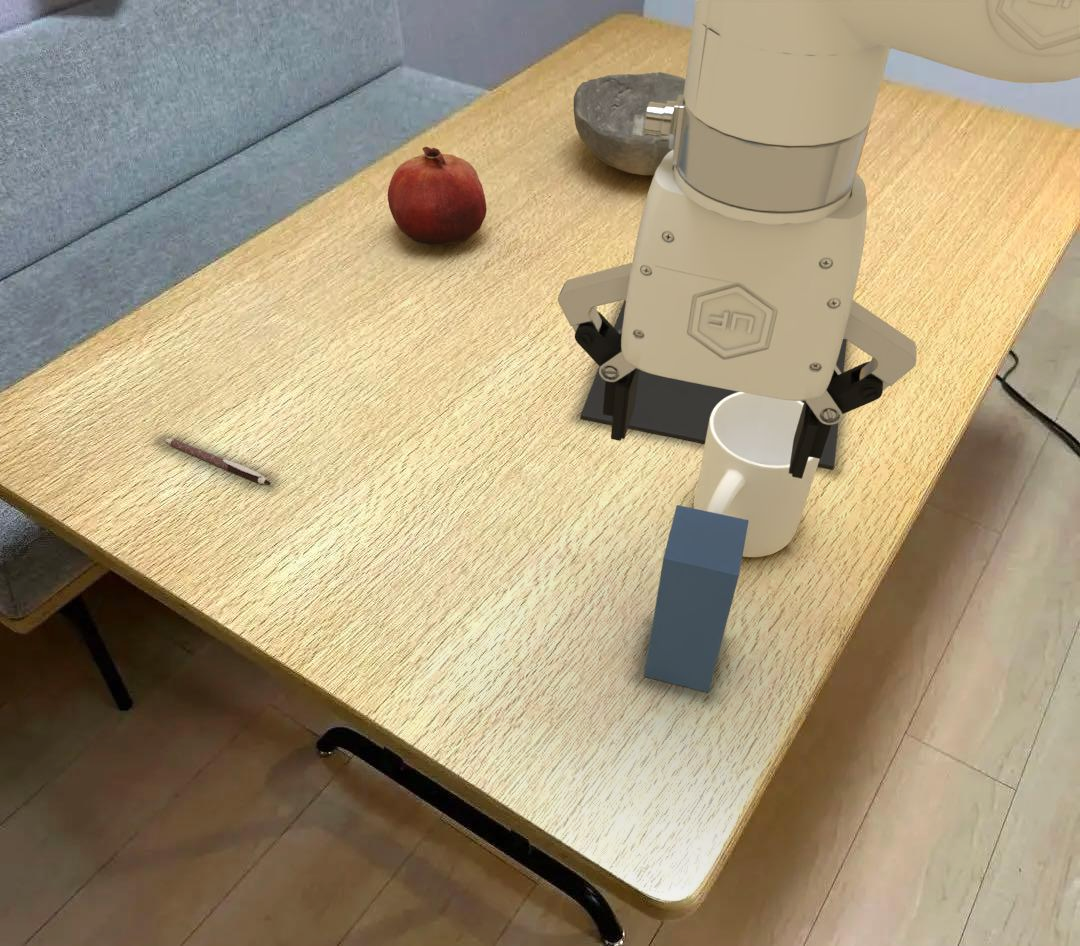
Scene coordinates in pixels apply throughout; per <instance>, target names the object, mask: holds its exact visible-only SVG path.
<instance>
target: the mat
mask: <svg viewBox="0 0 1080 946" xmlns="http://www.w3.org/2000/svg"><path fill="white" fill-rule="evenodd" d="M625 305H626V299H624V300H623V303H622V306H621V308H620V311H619V313H618V316H617V319H616V321H615V324H614V326H613V327H614V328H615V329H616V330H617V332H618V331H619V330H620V329H622V327H623V320H624V311H625ZM847 342H848V340H846V339H845V338H843V341H842V345H841V349H840V352H839V356H838V360H837V363H836V366H837V367H838V369H839V370H840V372H841V373H843V372H845V371H844V370H845V363H846V362H845V361H846V353H847V352H846V351H847ZM599 368H600V366H599V365H598V369H597V371H596V374H595V376H594V379H593V381H592V384H591V387H590V389H589V392H588V395H587V397H586V399H585V402H584V404H583V408H582V410H581V413H580V417H579V418H580V419H581V420H586V421H591V422H596V423H602V424H606V425H610V426H612V421H613V417H612V416H607V415H603V405H604V394H605V382H606V380H604V379H603V378H602V377H601V376H600V374H599ZM737 392H738V391H733V390H728V389H723V388H718V387H713V386H707V385H702V384H697V383H692V382H687V381H682V380H677V379H672V378H667V377H662V376H658V375H654V374H650V373H647V372H644V371H642V370H639V377H638V386H637V394H636V402H635V408H634V411H633V414H632V417H631V421H630V424H629V427H628V429H630V430H635V431H640V432H644V433H645V432H646V433H650V434H655V435H660V436H665V437H670V438H675V439H680V440H685V441H690V442H695V443H699V444H705V441H706V435H707V430H708V425H709V420H710V416H711V413H712V411H713V409H714V408H715V406H716V405H717V404H718V403H719V402H720V401H721V400H723V399H724V398H726V397H728V396H730V395H732V394H735V393H737ZM801 402H803V403H804V401H801ZM838 431H839V423H837V424H834V425H831V429H830V432H829V435H828V438H827V441H826V444H825V447H824V450H823V453H822V456H821V459H820V460H819V463H818V466H817V467H819V468H824V469H829V470H834V469H835V462H836V452H837V442H838Z"/></svg>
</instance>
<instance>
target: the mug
mask: <svg viewBox="0 0 1080 946" xmlns="http://www.w3.org/2000/svg"><path fill="white" fill-rule="evenodd" d="M803 405H804V403H803V402H801V401H790V400H782V399H776V398H770V397H765V396H759V395H754V394H749V393H744V392H737V393H735V394H732V395H730V396H728V397H726V398H724V399H723V400H721V401H720V402H719V403H718V404H717V405H716V406H715V408H714V409H713V411H712V413H711V416H710V420H709V425H708V430H707V435H706V441H705V443H704V446H703V452H702V457H701V463H700V468H699V472H698V478H697V482H696V483H697V484H696V489H695V494H694V499H693V500H694V501H693V508H694V509H699V510H703V511H708V512H713V513H717V514H722V515H727V516H731V517H736V518H741V519H745V520H748V521H749V522H748V528H747V534H746V539H745V545H744V550H743V556H742V558H743V557H744V558H761V557H767V556H771V555H773V554H775V553H776V554H777V552H779V551H781V550H782V549H784V548H785V547H787V546H788V545H789V543H791V541H792V540H793V538H794V537H795V535H796V534H797V531H798V528H799V525H800V524H801V523H800V522H801V520H802V516H803V513H804V510H805V506H806V503H807V501H808V498H809V495H810V491H811V489H812V484H813V482H814V478H815V476H816V472H817V469H818V467H819V466H818V463H819V460H820V459H818V458H813V457H809V458H808V461H807V464H806V467H805V470H804V474H803V477H802V479H800V478H796V477H792V474H789V467H790V460H791V454H792V447H793V440H794V436H795V432H796V429H797V425H798V422H799V419H800V415H801V412H802V408H803Z"/></svg>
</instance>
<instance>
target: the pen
mask: <svg viewBox="0 0 1080 946" xmlns="http://www.w3.org/2000/svg"><path fill="white" fill-rule="evenodd" d="M164 440H165V442H166V443H167V444H168V445H169V446H170V447H172V448H174V449H177V450H179V451H181V452H184V453H186V454H188V455H191V456H193V457H195V458H198V459H200V460H202V461H204V462H206V463H209V464H212V465H214V466H215V467H218V468H220V469H223V470H225V471H227V472H230V473H232V474H235V475H237V476H240V477H242V478H245V479H247V480H249V481H252V482H255V483H257V484H260V485H270V484H271V482H270V480H268V479H267V478H266V477H265V476H264V475H262V474H261V473H259V472H257V471H255V470H253V469H252V468H250V467H248V466H245V465H242V464H240V463H237V462H234V461H232V460H228V459H225V458H223V457H220V456H217V455H215V454H212V453H210V452H207V451H204V450H203V449H200V448H197V447H195V446H192V445H190V444H187V443H185V442H182V441H180V440H178V439H175V438H174V439H173V438H164Z"/></svg>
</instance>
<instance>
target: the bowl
mask: <svg viewBox="0 0 1080 946" xmlns="http://www.w3.org/2000/svg"><path fill="white" fill-rule="evenodd" d="M685 79H686V78H684V77H682V76H679V75H675V74H671V73H666V72H661V71H657V72H648V73H633V74H631V73H626V74H625V73H624V74H610V75H605V76H600V77H597V78H594V79H589V80H587V81H582V82H581V83H580V84H579V85H578V87H577V88H576V91H575V92H574V95H573V117H574V124H575V129H576V131H577V134H578V136H579V138H580V140H581V142H583V143H584V145H585V147H586V148H587V149H588V150H589V151H590V152H591V153H592V155H594V156H595V157H596V158H597V159H599V161H601V162H602V163H603V164H605V165H607V166H609V167H611V168H614V169H617V170H619V171H623V172H625V173H628V174H634V175H640V176H654V174H655V172H656V170H657V168H658V166H659V165H660V164H661V162H662V160H663V158H664V157H665V156H666V155H667V154H668V153H669V152H670V151H671V149H669V141H664V140H661V138H660V137H659V136H652V135H645V134H644V123H645V116H646V111H647V107H648V104H649V102H656V103H663V104H666V103H667V101H674V102H676V100H677V98H678V95H679V94H681V95H684V87H685Z"/></svg>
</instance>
